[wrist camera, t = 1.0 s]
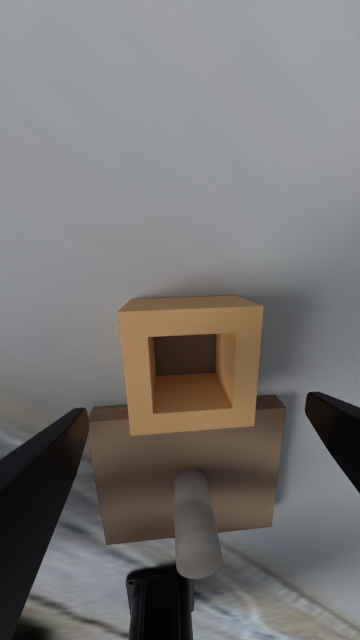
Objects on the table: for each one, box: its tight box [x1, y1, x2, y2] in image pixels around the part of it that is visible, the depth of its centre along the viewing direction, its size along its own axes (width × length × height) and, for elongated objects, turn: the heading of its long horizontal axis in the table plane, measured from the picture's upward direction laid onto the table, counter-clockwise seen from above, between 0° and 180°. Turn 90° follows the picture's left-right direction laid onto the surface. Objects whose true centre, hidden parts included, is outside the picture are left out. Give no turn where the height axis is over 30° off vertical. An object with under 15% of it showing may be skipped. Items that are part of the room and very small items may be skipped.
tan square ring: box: [118, 295, 264, 436], centre depth 12 cm, size 7×7×4 cm
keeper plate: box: [88, 395, 286, 579], centre depth 14 cm, size 12×14×6 cm
